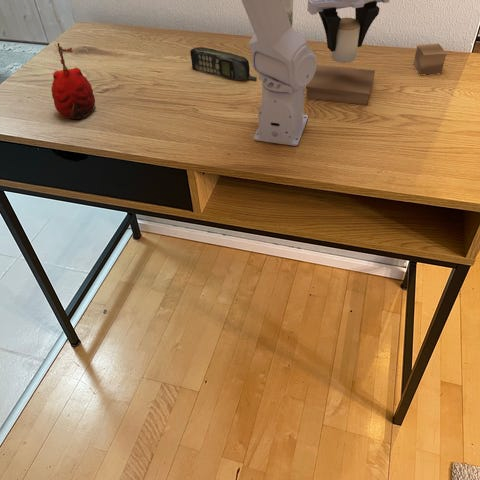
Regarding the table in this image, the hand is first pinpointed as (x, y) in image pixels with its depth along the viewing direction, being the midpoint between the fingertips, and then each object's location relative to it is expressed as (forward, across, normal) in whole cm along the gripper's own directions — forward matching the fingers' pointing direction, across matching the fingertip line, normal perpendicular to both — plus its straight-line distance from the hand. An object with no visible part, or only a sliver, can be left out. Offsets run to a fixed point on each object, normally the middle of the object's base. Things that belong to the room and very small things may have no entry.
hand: (344, 46), depth 94 cm
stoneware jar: (+2, 0, 0) cm, 2 cm away
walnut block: (+9, +20, +2) cm, 22 cm away
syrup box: (+9, -6, +21) cm, 24 cm away
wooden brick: (+9, 0, 0) cm, 9 cm away
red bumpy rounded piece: (+9, -51, +9) cm, 52 cm away
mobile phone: (+9, -20, +14) cm, 26 cm away
